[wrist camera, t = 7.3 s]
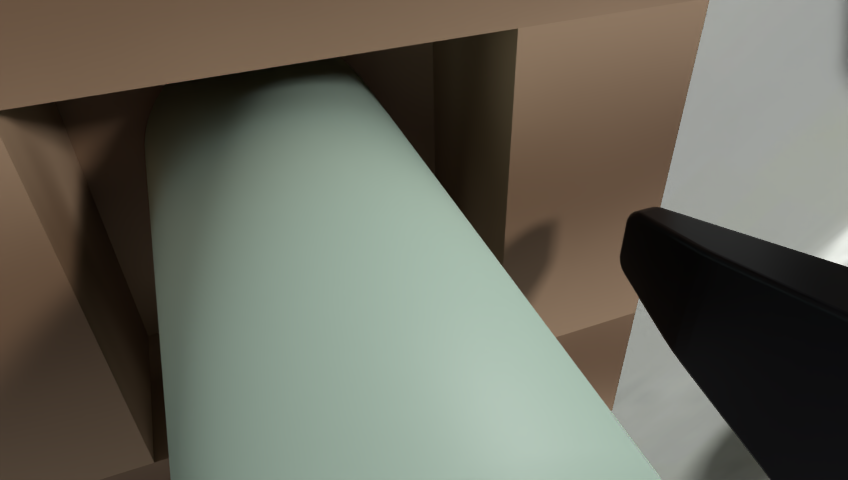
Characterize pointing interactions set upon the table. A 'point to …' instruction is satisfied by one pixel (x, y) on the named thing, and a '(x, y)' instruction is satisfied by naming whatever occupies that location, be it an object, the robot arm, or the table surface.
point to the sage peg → (344, 302)
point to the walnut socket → (404, 102)
